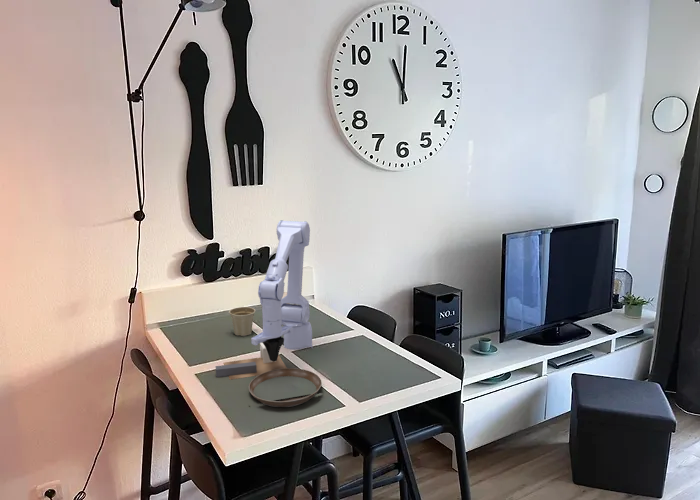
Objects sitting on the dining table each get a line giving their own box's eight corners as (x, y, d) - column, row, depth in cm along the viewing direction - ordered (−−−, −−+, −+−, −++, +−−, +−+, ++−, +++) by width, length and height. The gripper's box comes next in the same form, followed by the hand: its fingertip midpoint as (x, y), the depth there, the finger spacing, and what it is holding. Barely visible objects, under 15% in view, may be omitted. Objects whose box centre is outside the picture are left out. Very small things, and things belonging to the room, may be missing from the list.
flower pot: (261, 331, 207) (260, 309, 205) (244, 339, 199) (243, 316, 197) (242, 327, 212) (241, 305, 210) (224, 334, 204) (223, 312, 202)
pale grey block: (272, 355, 183) (272, 341, 182) (275, 361, 179) (275, 346, 178) (260, 357, 182) (259, 342, 181) (263, 363, 177) (263, 348, 176)
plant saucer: (259, 418, 147) (259, 406, 146) (241, 385, 165) (241, 374, 165) (332, 403, 155) (332, 392, 154) (307, 373, 173) (307, 363, 173)
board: (278, 357, 184) (278, 354, 184) (288, 373, 172) (288, 370, 172) (223, 365, 178) (223, 362, 178) (229, 382, 166) (229, 379, 166)
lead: (255, 368, 173) (255, 361, 173) (256, 372, 171) (256, 365, 170) (215, 373, 170) (215, 366, 169) (216, 377, 168) (215, 369, 167)
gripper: (282, 309, 178) (283, 349, 181) (244, 321, 167) (246, 363, 171) (296, 315, 173) (297, 355, 176) (258, 327, 163) (260, 370, 166)
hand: (273, 360), depth 173 cm, fingers closed
